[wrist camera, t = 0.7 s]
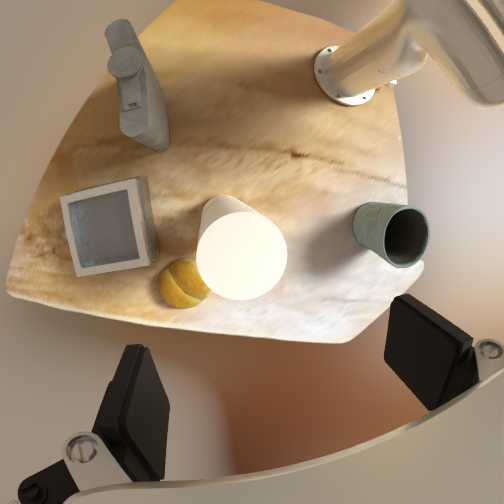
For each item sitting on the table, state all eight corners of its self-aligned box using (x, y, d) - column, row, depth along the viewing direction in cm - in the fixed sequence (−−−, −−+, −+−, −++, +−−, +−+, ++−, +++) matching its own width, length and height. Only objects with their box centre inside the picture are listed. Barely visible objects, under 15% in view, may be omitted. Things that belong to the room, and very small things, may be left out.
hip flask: (135, 71, 37) (97, 15, 18) (157, 64, 37) (132, 2, 18) (153, 154, 42) (115, 137, 22) (177, 147, 42) (155, 123, 23)
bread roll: (150, 280, 47) (146, 289, 43) (188, 248, 47) (187, 255, 43) (181, 314, 49) (180, 324, 45) (219, 284, 49) (220, 293, 45)
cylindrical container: (200, 236, 46) (194, 297, 22) (203, 192, 44) (199, 207, 20) (242, 239, 47) (280, 301, 23) (247, 196, 46) (292, 216, 22)
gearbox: (146, 176, 42) (135, 176, 35) (159, 253, 46) (152, 267, 39) (64, 196, 40) (43, 200, 33) (79, 267, 44) (61, 281, 37)
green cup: (398, 223, 51) (437, 235, 40) (368, 260, 52) (404, 281, 41) (370, 187, 49) (410, 191, 37) (337, 226, 49) (372, 240, 38)
